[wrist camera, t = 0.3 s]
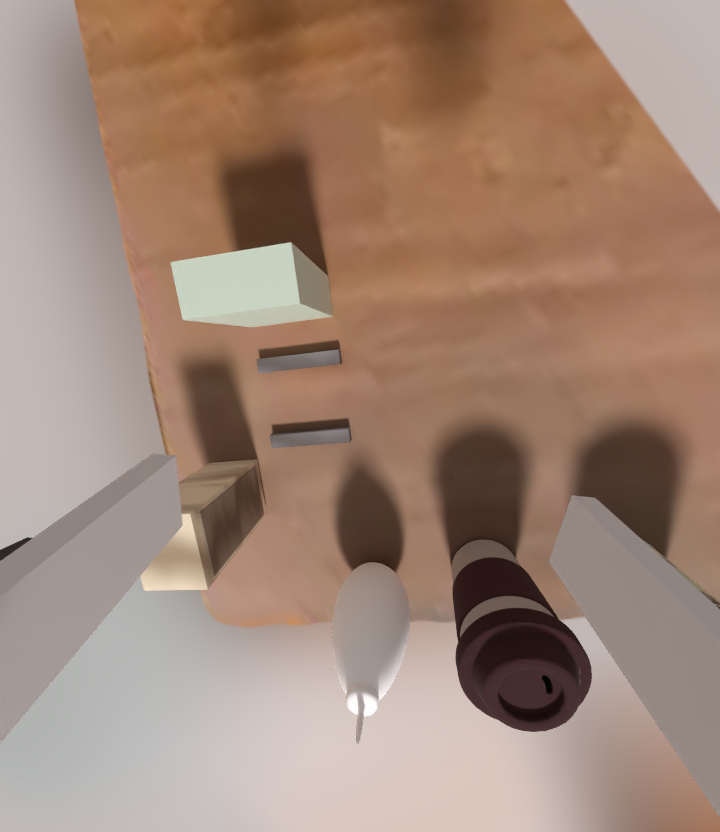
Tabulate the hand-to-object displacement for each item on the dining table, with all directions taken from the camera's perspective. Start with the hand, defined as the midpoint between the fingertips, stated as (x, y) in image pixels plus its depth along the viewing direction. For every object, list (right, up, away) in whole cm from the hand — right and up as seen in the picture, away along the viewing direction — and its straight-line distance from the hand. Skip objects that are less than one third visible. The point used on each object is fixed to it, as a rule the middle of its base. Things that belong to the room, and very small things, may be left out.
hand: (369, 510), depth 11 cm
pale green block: (-8, +15, +24) cm, 30 cm away
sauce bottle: (+2, -16, +30) cm, 34 cm away
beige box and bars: (-10, +1, +28) cm, 29 cm away
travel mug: (+14, -14, +28) cm, 34 cm away
